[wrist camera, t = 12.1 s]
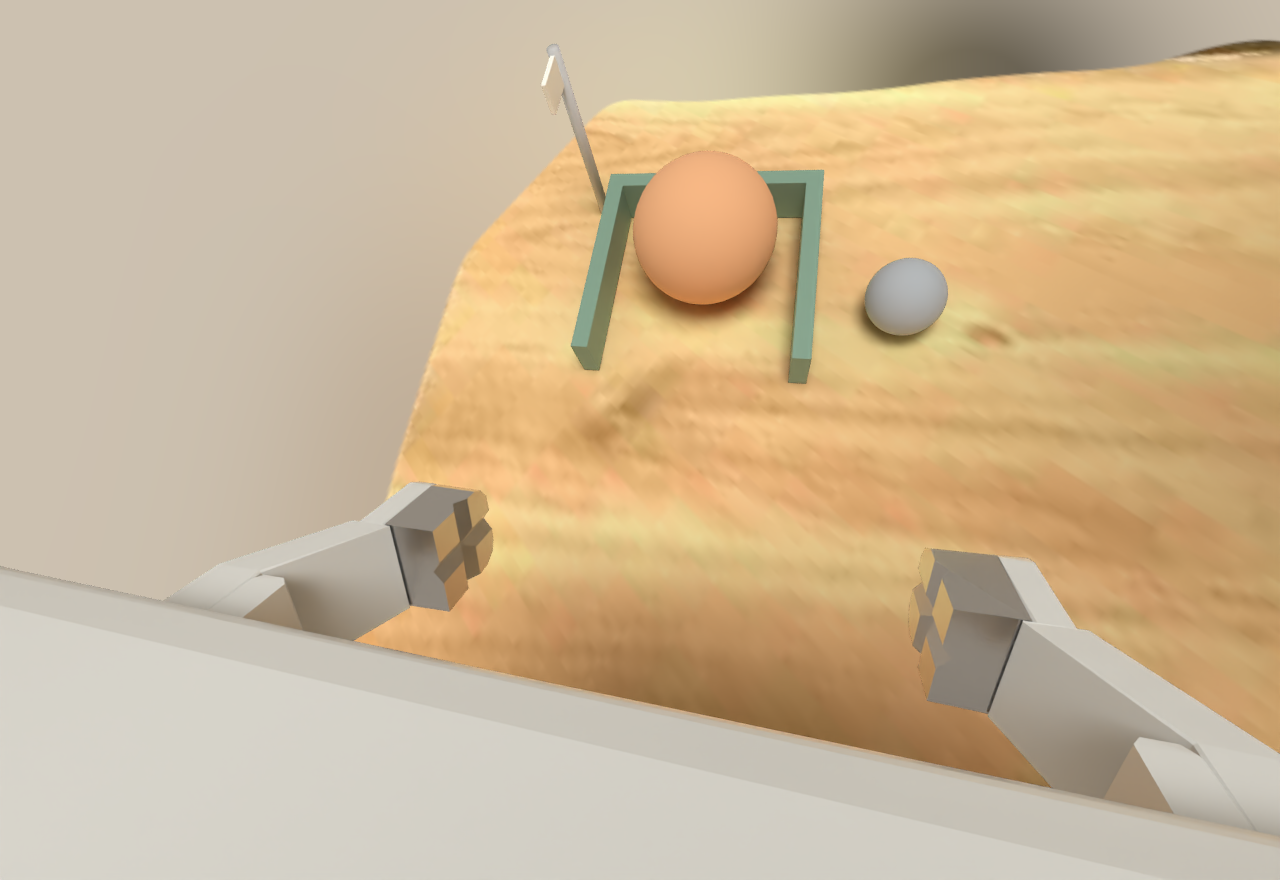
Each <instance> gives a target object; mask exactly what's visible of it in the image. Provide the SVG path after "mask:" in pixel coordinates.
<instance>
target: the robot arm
mask: <svg viewBox="0 0 1280 880" xmlns="http://www.w3.org/2000/svg"><path fill="white" fill-rule="evenodd" d="M488 511H489V508H488V503H487V498H486V495H485V494H484V493H483V492H481V491H479V490H473V489H466V488H459V487H452V486H446V485H437V484H433V483H424V482H410V483H409V484H408V485H406V486H405V487H404V488H402V489H401V490H400V491H398V492H397V493H396V494H395V495H393V496H392V497H391V498H389V499H388V500H387V501H385V502H384V503H383V504H381V505H380V506H379V507H378V508H376V509H375V510H374V511H372V512H371V513H370V514H368V515H367V516H366V517H365V518H363V519H362V520H361V521H350V522H346V523H343V524H340V525H337V526H334V527H331V528H328V529H325V530H322V531H319V532H316V533H313V534H310V535H307V536H303V537H300V538H297V539H294V540H291V541H288V542H285V543H282V544H279V545H276V546H273V547H270V548H267V549H264V550H261V551H257V552H255V553H252V554H248V555H245V556H242V557H239V558H236V559H233V560H230V561H227V562H224V563H221V564H218V565H217V566H215V567H214V568H212V569H211V570H209V571H208V572H206V573H205V574H203V575H201V576H200V577H199V578H197V579H195V580H194V581H192V582H191V583H189V584H188V585H186V586H185V587H183V588H182V589H180V590H179V591H177V592H176V593H174V594H173V595H171V596H170V597H168V598H167V599H165V600H164V601H161V600H156V599H152V598H147V597H142V596H137V595H133V594H128V593H123V592H118V591H114V590H109V589H104V588H100V587H94V586H90V585H85V584H81V583H75V582H71V581H66V580H61V579H57V578H52V577H47V576H42V575H38V574H33V573H29V572H23V571H19V570H15V569H10V568H6V567H2V566H0V880H1280V754H1279V753H1277V752H1276V751H1274V750H1273V749H1271V748H1270V747H1268V746H1267V745H1265V744H1264V743H1262V742H1260V741H1259V740H1257V739H1256V738H1254V737H1253V736H1251V735H1250V734H1248V733H1247V732H1245V731H1243V730H1242V729H1240V728H1239V727H1237V726H1236V725H1234V724H1233V723H1231V722H1230V721H1228V720H1226V719H1225V718H1223V717H1222V716H1220V715H1219V714H1217V713H1216V712H1214V711H1212V710H1211V709H1209V708H1208V707H1206V706H1205V705H1203V704H1202V703H1200V702H1199V701H1197V700H1195V699H1194V698H1192V697H1191V696H1189V695H1188V694H1186V693H1185V692H1183V691H1182V690H1180V689H1178V688H1177V687H1175V686H1174V685H1172V684H1171V683H1169V682H1168V681H1166V680H1165V679H1163V678H1161V677H1160V676H1158V675H1157V674H1155V673H1154V672H1152V671H1151V670H1149V669H1147V668H1146V667H1144V666H1143V665H1141V664H1140V663H1138V662H1137V661H1135V660H1134V659H1132V658H1130V657H1129V656H1127V655H1126V654H1124V653H1123V652H1121V651H1120V650H1118V649H1117V648H1115V647H1113V646H1112V645H1110V644H1109V643H1107V642H1106V641H1104V640H1103V639H1101V638H1100V637H1098V636H1096V635H1095V634H1093V633H1092V632H1090V631H1088V630H1082V629H1077V628H1076V626H1075V625H1074V623H1073V622H1072V620H1071V619H1070V617H1069V615H1068V614H1067V612H1066V611H1065V609H1064V608H1063V606H1062V605H1061V603H1060V601H1059V600H1058V598H1057V597H1056V595H1055V594H1054V592H1053V591H1052V589H1051V587H1050V586H1049V584H1048V583H1047V581H1046V580H1045V578H1044V577H1043V575H1042V573H1041V572H1040V570H1039V569H1038V567H1037V566H1036V564H1035V563H1034V562H1033V561H1032V560H1030V559H1028V558H1022V557H1011V556H1001V555H987V554H978V553H968V552H959V551H950V550H940V549H931V548H925V549H924V551H923V553H922V555H921V559H920V563H919V566H918V569H919V573H920V576H921V579H922V583H921V584H919V585H918V586H917V587H915V588H914V589H913V591H912V595H911V600H910V605H909V621H908V622H909V631H910V637H911V641H912V645H913V646H914V647H915V648H916V649H917V650H918V651H919V652H920V653H921V656H920V660H919V664H918V669H919V673H920V677H921V681H922V685H923V688H924V692H925V696H926V700H927V701H931V702H936V703H940V704H945V705H950V706H954V707H959V708H964V709H969V710H973V711H978V712H983V713H987V714H988V717H989V718H990V719H991V720H992V722H993V723H994V724H995V725H996V726H997V727H998V728H999V729H1000V730H1001V732H1002V733H1003V734H1004V735H1005V736H1006V737H1007V738H1008V739H1009V740H1010V742H1011V743H1012V744H1013V745H1014V746H1015V747H1016V748H1017V749H1018V750H1019V752H1020V753H1021V754H1022V755H1023V756H1024V757H1025V758H1026V759H1027V760H1028V762H1029V763H1030V764H1031V765H1032V766H1033V767H1034V768H1035V769H1036V771H1037V772H1038V773H1039V774H1040V775H1041V776H1042V777H1043V778H1044V779H1045V781H1046V782H1047V783H1048V784H1049V785H1050V786H1051V787H1052V788H1048V787H1044V786H1039V785H1034V784H1029V783H1025V782H1020V781H1015V780H1010V779H1006V778H1001V777H996V776H991V775H987V774H982V773H977V772H972V771H967V770H962V769H957V768H952V767H948V766H943V765H938V764H933V763H929V762H924V761H919V760H914V759H910V758H905V757H900V756H896V755H891V754H886V753H881V752H877V751H872V750H867V749H862V748H858V747H853V746H848V745H844V744H839V743H834V742H829V741H825V740H820V739H815V738H811V737H806V736H801V735H796V734H792V733H787V732H782V731H777V730H773V729H768V728H763V727H759V726H754V725H749V724H744V723H740V722H735V721H730V720H726V719H721V718H716V717H711V716H707V715H702V714H697V713H692V712H688V711H683V710H678V709H674V708H669V707H664V706H659V705H654V704H650V703H645V702H640V701H635V700H631V699H626V698H621V697H616V696H611V695H607V694H602V693H597V692H592V691H587V690H583V689H578V688H573V687H568V686H564V685H559V684H554V683H549V682H544V681H540V680H535V679H530V678H525V677H521V676H516V675H511V674H506V673H502V672H497V671H492V670H487V669H483V668H478V667H473V666H469V665H464V664H459V663H454V662H450V661H445V660H440V659H435V658H431V657H426V656H421V655H416V654H412V653H407V652H402V651H398V650H393V649H388V648H383V647H379V646H374V645H369V644H364V643H360V642H355V641H354V640H356V639H357V638H359V637H361V636H362V635H364V634H366V633H367V632H369V631H371V630H373V629H374V628H376V627H378V626H379V625H381V624H383V623H384V622H386V621H388V620H390V619H391V618H393V617H395V616H396V615H398V614H400V613H401V612H403V611H405V610H407V609H408V608H410V605H411V606H417V607H424V608H430V609H437V610H443V611H451V609H452V608H453V607H454V606H455V604H456V603H457V602H458V601H459V599H460V598H461V597H462V596H463V595H464V593H465V592H466V591H467V590H468V581H467V580H468V579H470V578H472V577H475V576H477V575H479V574H481V572H482V571H483V570H484V568H485V567H486V566H487V564H488V562H489V559H490V556H491V554H492V551H493V533H492V528H491V527H490V526H489V524H488V523H487V522H486V521H485V519H484V517H485V515H486V514H487V512H488Z"/></svg>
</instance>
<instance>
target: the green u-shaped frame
mask: <svg viewBox="0 0 1280 880" xmlns="http://www.w3.org/2000/svg"><path fill="white" fill-rule="evenodd" d="M547 53H548V55H549V61H548V65H547V68H546V71H545V75H544V78H543V81H542V84H541V87H542V89H543V93H544V95H545V98H546V101H547V103H548V106H549V109H550V111H551V114H552V115H556V113H557V110H558V106H559V103H560V99H561V96H562V97H563V101H564V104H565V106H566V110H567V112H568V115H569V119H570V121H571V125H572V127H573V130H574V133H575V136H576V139H577V142H578V145H579V148H580V151H581V154H582V157H583V160H584V163H585V166H586V169H587V172H588V175H589V178H590V181H591V184H592V187H593V190H594V193H595V196H596V199H597V202H598V205H599V208H600V211H601V214H602V215H601V219H600V223H599V228H598V232H597V236H596V241H595V245H594V249H593V253H592V258H591V262H590V266H589V270H588V275H587V279H586V283H585V288H584V292H583V296H582V300H581V305H580V309H579V313H578V318H577V322H576V326H575V330H574V335H573V339H572V343H571V347H572V349H573V351H574V352H575V354H576V356H577V357H578V359H579V361H580V363H581V364H582V366H583V368H584V369H587V370H599V369H600V364H601V360H602V355H603V350H604V345H605V341H606V336H607V331H608V326H609V322H610V317H611V312H612V307H613V303H614V298H615V293H616V288H617V284H618V279H619V274H620V269H621V265H622V260H623V255H624V250H625V246H626V241H627V236H628V231H629V227H630V222H631V218H634V216H635V211H636V208H637V204H638V202H639V199H640V197H641V195H642V192H643V191H644V189H645V187H646V186H647V184H648V183H649V182H650V180H651V179H652V178H653V176H654V175H655V174H656V173H647V174H611V176H610V181H609V185H608V189H607V193H606V196H605V193H604V190H603V186H602V183H601V180H600V177H599V174H598V170H597V167H596V164H595V161H594V158H593V154H592V151H591V148H590V145H589V142H588V138H587V135H586V132H585V129H584V126H583V122H582V119H581V116H580V113H579V109H578V106H577V103H576V100H575V97H574V93H573V91H572V87H571V84H570V81H569V78H568V74H567V71H566V68H565V65H564V61H563V58H562V55H561V52H560V49H559V46H558V45H557V44H551V45H550V46H548V47H547ZM757 172H758V173H759V175H760V176H761V177H762V178H763V180H764V181H765V183H766V184H767V186H768V188H769V190H770V192H771V194H772V196H773V200H774V203H775V207H776V212H777V218H802V222H801V234H800V247H799V259H798V271H797V283H796V295H795V307H794V319H793V331H792V343H791V355H790V368H789V380H788V383H804V384H806V381H807V377H808V372H809V367H810V363H811V357H812V342H813V327H814V313H815V298H816V283H817V269H818V254H819V239H820V225H821V210H822V196H823V181H824V170H795V171H757Z"/></svg>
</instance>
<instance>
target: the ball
mask: <svg viewBox="0 0 1280 880" xmlns="http://www.w3.org/2000/svg"><path fill="white" fill-rule="evenodd" d="M776 236H777V212H776V207H775V203H774V200H773V196H772V194H771V192H770V190H769V188H768V186H767V184H766V183H765V181H764V180H763V178H762V177H761V176H760V175H759V173H758V172H757V171H756V170H755V169H754V168H753V167H751V166H750V165H749V164H748V163H746V162H745V161H743V160H741V159H739V158H738V157H735V156H733V155H731V154H727V153H723V152H717V151H698V152H693V153H689V154H686V155H683V156H681V157H679V158H677V159H675V160H673V161H671V162H670V163H668V164H667V165H665V166H664V167H663V168H662V169H660V170H659V171H658V172H657V173H656V174H655V175H654V176H653V178H652V179H651V180H650V182H649V183H648V184H647V186H646V187H645V189H644V191H643V192H642V195H641V197H640V199H639V202H638V204H637V208H636V211H635V216H634V223H633V240H634V245H635V250H636V254H637V257H638V260H639V262H640V264H641V266H642V268H643V270H644V272H645V273H646V275H647V276H648V277H649V279H650V280H651V281H652V282H653V283H654V284H655V285H656V286H657V287H658V288H659V289H660V290H662V291H663V292H664V293H666V294H667V295H669V296H671V297H673V298H675V299H677V300H680V301H683V302H687V303H691V304H714V303H718V302H722V301H725V300H728V299H730V298H732V297H734V296H736V295H738V294H740V293H741V292H743V291H744V290H746V289H747V288H748V287H749V286H750V285H752V284H753V283H754V281H755V280H756V279H757V278H758V277H759V276H760V274H761V273H762V272H763V270H764V269H765V267H766V265H767V264H768V262H769V260H770V257H771V255H772V252H773V249H774V246H775V241H776Z"/></svg>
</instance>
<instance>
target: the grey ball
mask: <svg viewBox="0 0 1280 880" xmlns="http://www.w3.org/2000/svg"><path fill="white" fill-rule="evenodd" d="M947 298H948V287H947V283H946V280H945V278H944V276H943V274H942V273H941V271H940V270H939V269H938V268H937V267H936V266H935V265H933V264H932V263H930V262H928V261H925V260H922V259H917V258H904V259H900V260H896V261H893V262H891V263H889V264H887V265H886V266H884V267H883V268H881V269H880V270H879V271H878V272H877V273H876V274H875V275H874V276H873V278H872V279H871V281H870V283H869V285H868V287H867V290H866V293H865V308H866V312H867V315H868V317H869V318H870V320H871V321H872V323H873V324H874V325H875V326H876V327H878V328H879V329H880V330H882V331H884V332H886V333H889V334H893V335H910V334H915V333H918V332H920V331H922V330H924V329H926V328H928V327H929V326H931V325H932V324H933V323H934V322H935V321H936V320H937V319H938V318H939V316H940V315H941V314H942V312H943V310H944V308H945V305H946V302H947Z"/></svg>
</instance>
